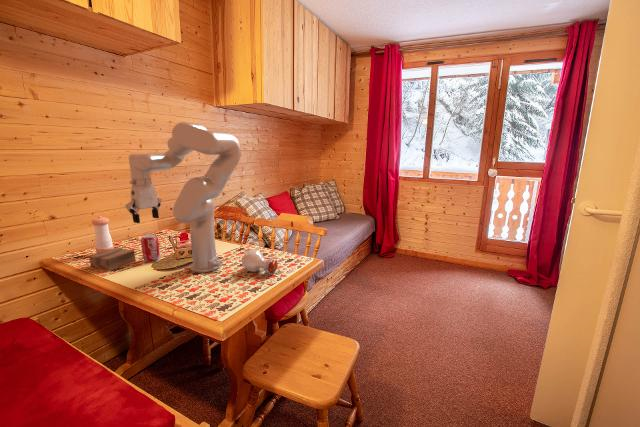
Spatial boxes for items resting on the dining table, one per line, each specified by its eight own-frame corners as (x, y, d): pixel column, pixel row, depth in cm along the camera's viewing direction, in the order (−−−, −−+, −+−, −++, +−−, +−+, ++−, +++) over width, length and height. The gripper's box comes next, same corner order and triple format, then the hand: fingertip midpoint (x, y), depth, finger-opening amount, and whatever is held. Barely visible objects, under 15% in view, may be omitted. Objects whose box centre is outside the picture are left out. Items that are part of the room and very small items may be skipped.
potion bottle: (245, 270, 130) (274, 280, 125) (233, 265, 122) (264, 275, 116) (253, 251, 133) (282, 259, 128) (242, 244, 124) (273, 253, 119)
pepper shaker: (99, 257, 143) (93, 218, 139) (94, 254, 147) (87, 216, 143) (117, 253, 149) (111, 215, 145) (111, 250, 153) (105, 213, 149)
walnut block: (135, 260, 138) (134, 250, 137) (109, 270, 127) (108, 259, 126) (117, 257, 142) (115, 247, 141) (91, 266, 131) (89, 256, 130)
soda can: (164, 258, 142) (161, 233, 139) (154, 263, 135) (151, 238, 132) (150, 257, 142) (147, 233, 140) (140, 263, 136) (136, 237, 133)
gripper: (129, 185, 122) (135, 225, 125) (164, 180, 137) (168, 216, 141) (116, 184, 124) (122, 223, 128) (152, 180, 140) (156, 215, 144)
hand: (146, 220), depth 135 cm, fingers open, 9 cm apart
